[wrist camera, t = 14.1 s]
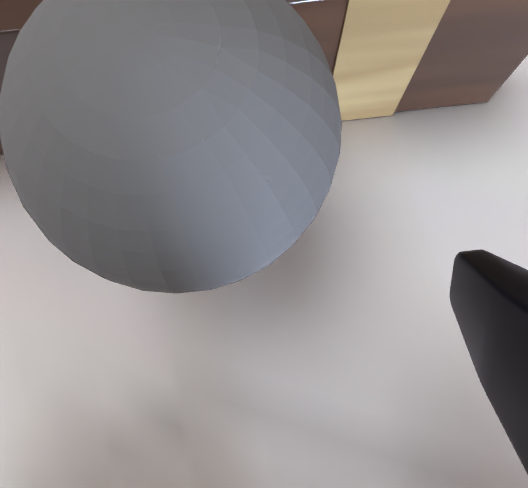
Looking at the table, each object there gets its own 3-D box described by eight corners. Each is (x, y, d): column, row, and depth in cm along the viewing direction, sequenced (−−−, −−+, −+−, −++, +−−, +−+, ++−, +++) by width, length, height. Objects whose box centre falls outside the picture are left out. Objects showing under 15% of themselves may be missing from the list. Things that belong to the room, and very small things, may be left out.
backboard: (488, 105, 17) (606, -31, 11) (-65, 164, 17) (-254, 60, 11) (461, -13, 18) (556, -196, 12) (-61, 42, 18) (-230, -115, 12)
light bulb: (103, 180, 16) (-146, -69, 7) (267, 114, 17) (259, -212, 7) (166, 348, 15) (-27, 345, 5) (341, 273, 16) (455, 145, 6)
